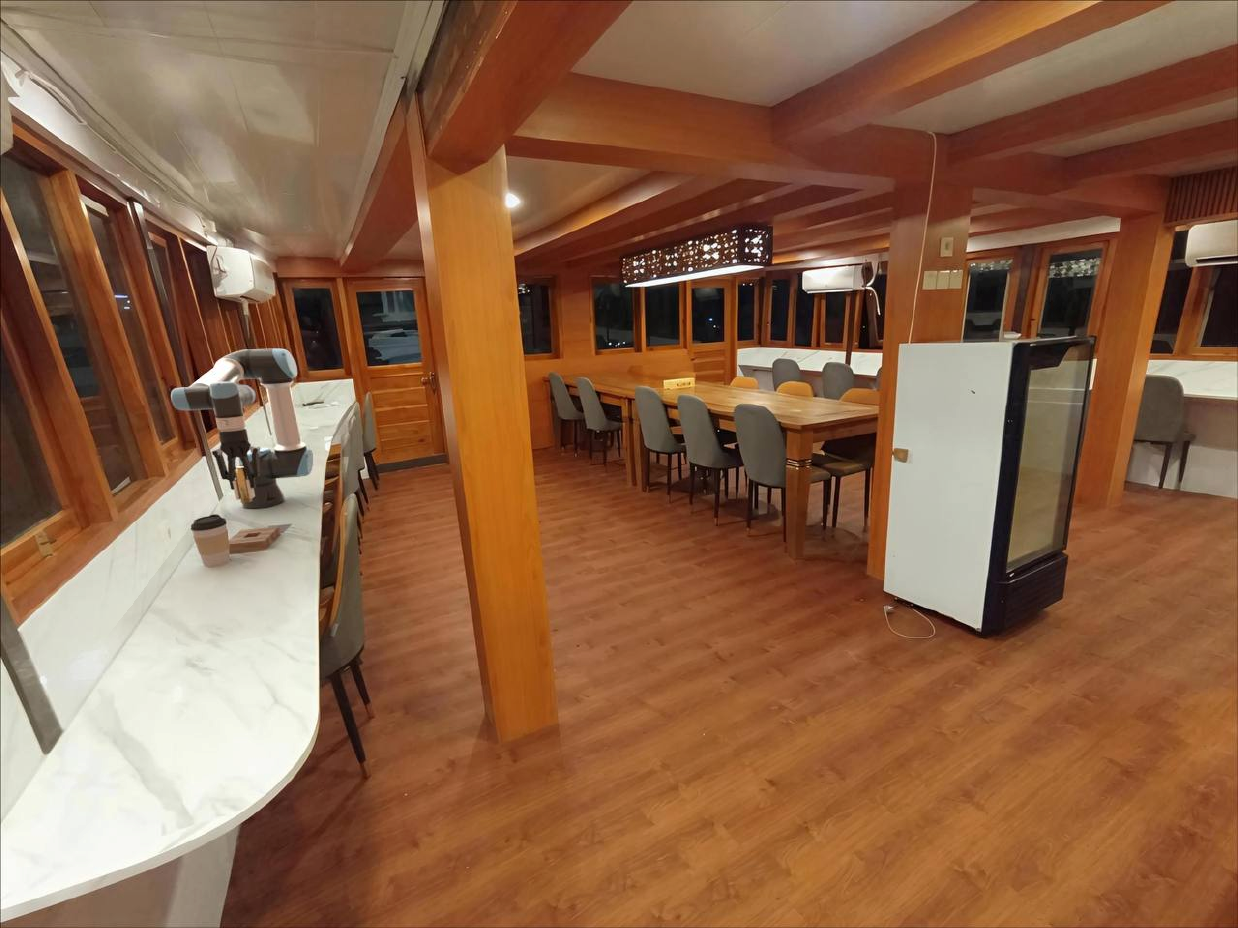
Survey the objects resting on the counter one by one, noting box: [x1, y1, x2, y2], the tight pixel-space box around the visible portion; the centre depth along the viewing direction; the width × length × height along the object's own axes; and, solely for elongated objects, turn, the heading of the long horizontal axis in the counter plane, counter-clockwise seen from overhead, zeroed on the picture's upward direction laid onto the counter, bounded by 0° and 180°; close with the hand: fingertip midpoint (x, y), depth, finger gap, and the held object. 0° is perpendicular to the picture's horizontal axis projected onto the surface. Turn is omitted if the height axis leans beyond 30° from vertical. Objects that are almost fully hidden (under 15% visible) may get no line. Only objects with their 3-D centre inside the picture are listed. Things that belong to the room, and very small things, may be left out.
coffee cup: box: [190, 513, 231, 568], centre depth 167 cm, size 9×9×15 cm
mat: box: [267, 523, 292, 534], centre depth 195 cm, size 10×8×1 cm
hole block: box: [229, 526, 282, 554], centre depth 182 cm, size 14×12×4 cm
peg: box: [234, 465, 252, 504], centre depth 177 cm, size 3×3×12 cm
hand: (245, 497), depth 178 cm, fingers closed on peg, 3 cm apart
